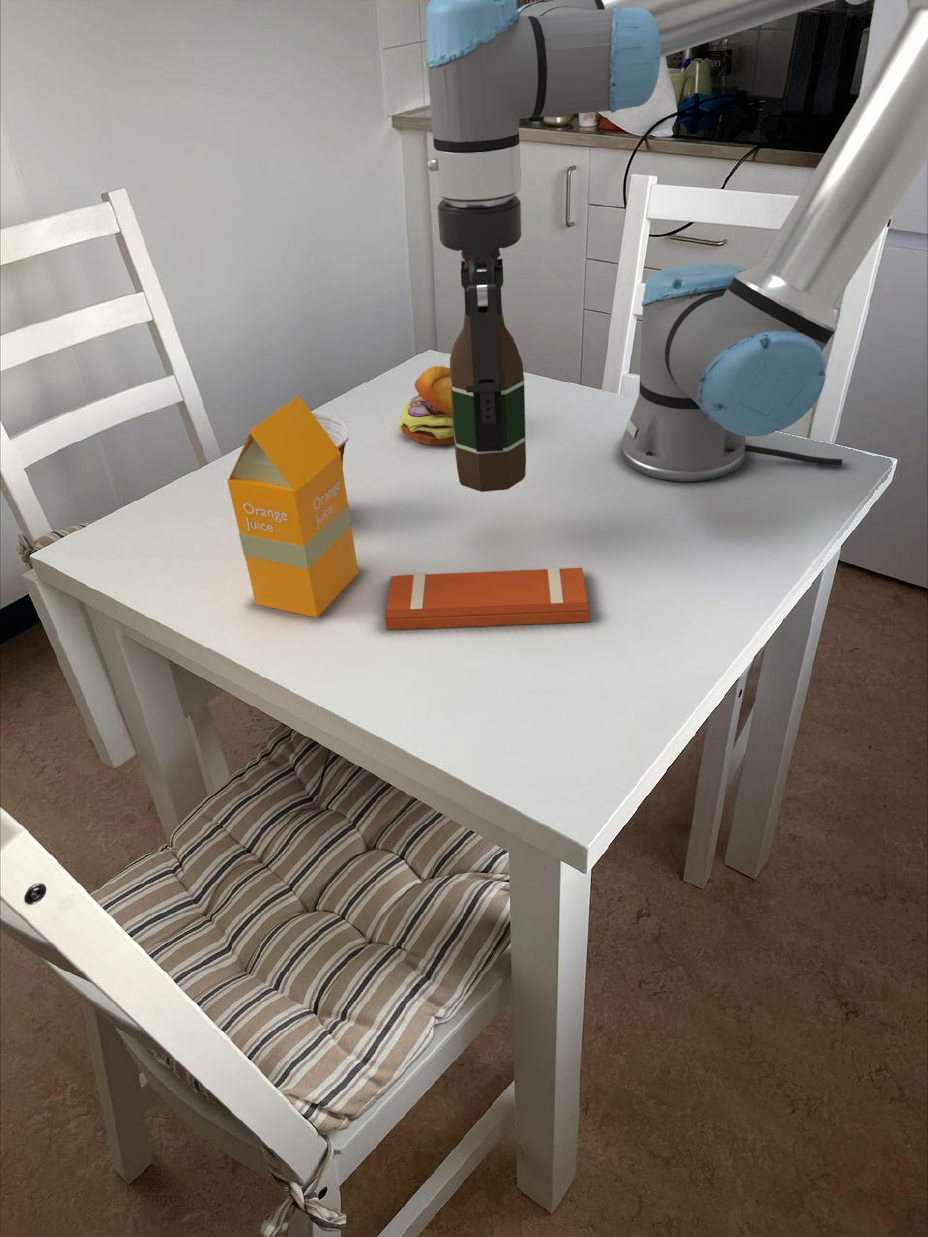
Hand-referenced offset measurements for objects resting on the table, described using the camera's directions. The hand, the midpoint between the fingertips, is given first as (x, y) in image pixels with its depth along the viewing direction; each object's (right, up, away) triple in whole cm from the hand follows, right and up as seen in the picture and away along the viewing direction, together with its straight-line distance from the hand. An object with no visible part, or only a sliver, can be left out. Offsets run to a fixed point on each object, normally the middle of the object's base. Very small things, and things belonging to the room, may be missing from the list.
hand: (489, 431), depth 98 cm
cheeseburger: (-6, +6, +32) cm, 33 cm away
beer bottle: (0, -4, +3) cm, 5 cm away
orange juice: (-19, -16, +2) cm, 25 cm away
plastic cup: (-20, -8, +14) cm, 26 cm away
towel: (0, -18, -2) cm, 18 cm away
